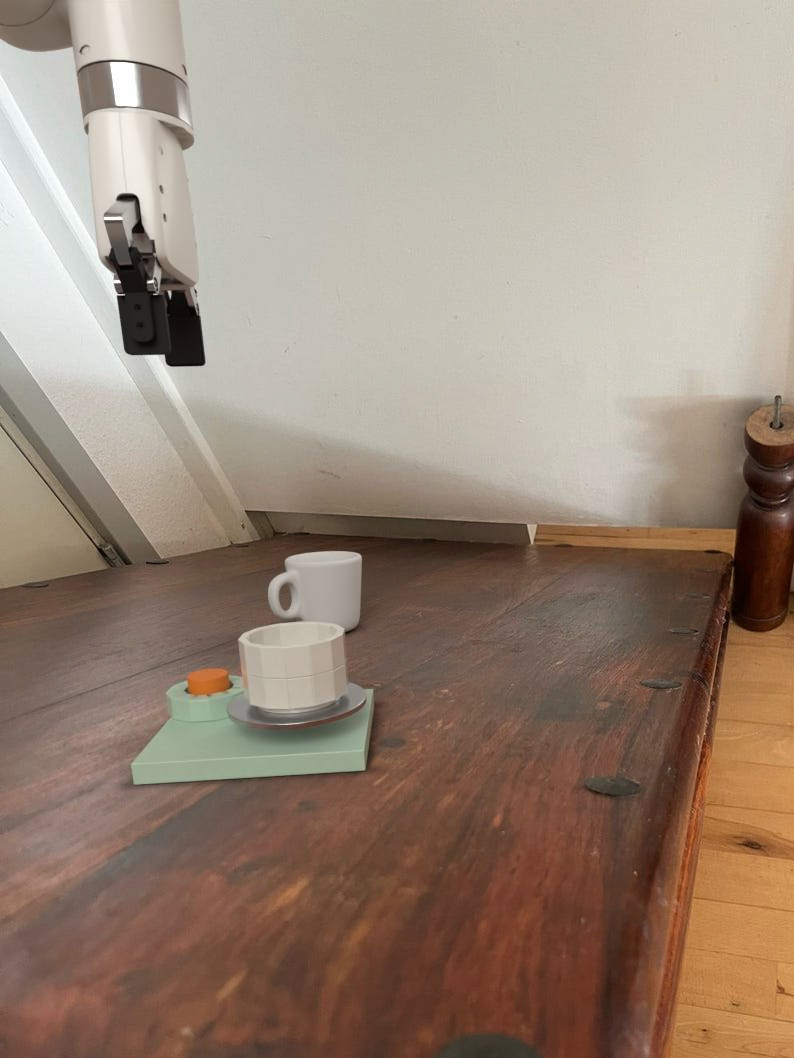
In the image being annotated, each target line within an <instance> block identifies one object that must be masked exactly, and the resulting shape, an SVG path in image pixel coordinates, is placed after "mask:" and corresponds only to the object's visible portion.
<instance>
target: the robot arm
mask: <svg viewBox="0 0 794 1058" xmlns="http://www.w3.org/2000/svg"><path fill="white" fill-rule="evenodd" d="M180 5H181V4H180V0H0V40H1V41H3V42H4V43H6V44H8V45H9V46H12V47H13V48H16V49H19V50H21V51H27V52H31V53H32V52H34V53H45V52H46V53H47V52H55V51H60V50H65V49H71V48H72V53H73V59H74V65H75V72H76V79H77V88H78V94H79V101H80V108H81V115H82V122H83V123H82V124H83V129H84V132H85V134H86V135H87V136H88V165H89V179H90V189H91V190H90V191H91V199H92V201H91V202H92V211H93V221H94V230H95V240H96V247H97V248H96V249H97V255H98V258H99V261H100V263H101V264H102V265H103V266H104V268H106V269H107V270H108V271H109V272H111V273H113V287H114V290H115V292H116V294H117V295H116V301H117V309H118V315H119V323H120V329H121V337H122V342H123V343H122V344H123V350H124V352H125V354H127V355H130V356H164V361H165V364H166V365H167V366H168V367H171V368H176V367H177V368H179V367H181V368H182V367H185V368H186V367H204V366H205V365H206V363H207V362H206V361H207V360H206V353H205V352H206V351H205V345H204V335H203V334H204V333H203V327H202V317H201V310H200V309H201V308H200V303H199V301H198V298H197V297H198V295H197V294H198V290H197V289H195V286H196V285H197V283H198V282H199V280H200V273H199V272H200V270H199V258H198V257H199V256H198V249H197V248H198V247H197V238H196V232H195V231H196V230H195V224H194V216H193V215H194V214H193V208H192V207H193V206H192V201H191V193H190V188H189V187H190V186H189V179H188V175H187V168H186V163H185V156H184V152H183V151H185V150H188V149H190V148H191V147H193V145H194V144H195V134H194V126H193V125H194V124H193V116H192V106H191V99H190V98H191V95H190V87H189V79H188V70H187V61H186V53H185V45H184V35H183V34H184V33H183V25H182V16H181V15H182V14H181V8H180ZM169 292H170V294H169Z"/></svg>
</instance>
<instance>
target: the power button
mask: <svg viewBox="0 0 794 1058" xmlns="http://www.w3.org/2000/svg"><path fill="white" fill-rule="evenodd" d="M228 675H229V671H228V670H227V669H224V668H204V669H200V670H196V671H192V672H191V673H189V674H187V676H186V680H187V682H188V690H189V694H192V695H209V694H214V693H219V692H224V691H226V690H228V689H230V684H229V676H228Z"/></svg>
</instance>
